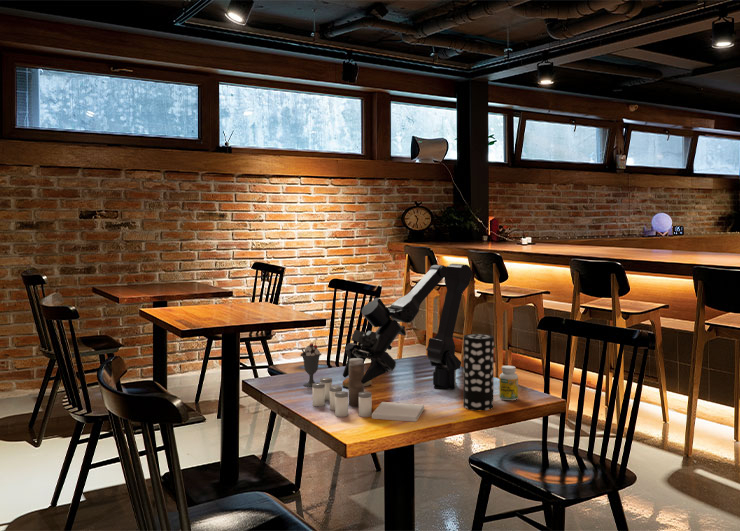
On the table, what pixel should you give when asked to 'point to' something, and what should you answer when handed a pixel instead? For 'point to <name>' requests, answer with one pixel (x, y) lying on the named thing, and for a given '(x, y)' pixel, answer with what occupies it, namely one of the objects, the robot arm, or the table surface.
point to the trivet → (398, 411)
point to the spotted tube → (478, 371)
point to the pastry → (346, 382)
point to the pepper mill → (355, 380)
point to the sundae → (311, 361)
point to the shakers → (339, 398)
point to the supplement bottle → (508, 383)
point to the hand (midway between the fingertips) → (352, 379)
